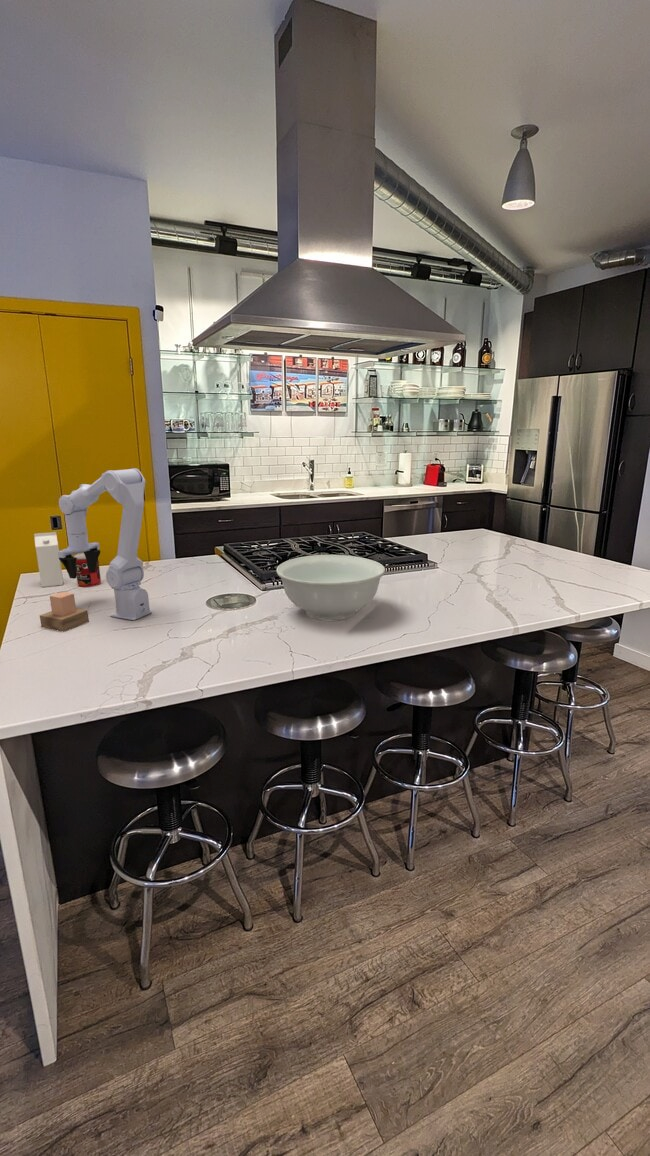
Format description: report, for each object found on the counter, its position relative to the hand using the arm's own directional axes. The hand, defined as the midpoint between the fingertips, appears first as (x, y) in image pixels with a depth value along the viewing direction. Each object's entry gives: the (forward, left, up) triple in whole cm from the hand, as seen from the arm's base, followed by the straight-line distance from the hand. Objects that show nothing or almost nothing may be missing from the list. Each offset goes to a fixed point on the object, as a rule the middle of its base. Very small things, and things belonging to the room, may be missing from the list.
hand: (82, 575), depth 176 cm
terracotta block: (-9, +16, -6) cm, 20 cm away
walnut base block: (-9, +16, -10) cm, 21 cm away
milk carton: (+31, -13, -10) cm, 35 cm away
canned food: (+18, -18, -10) cm, 27 cm away
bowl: (-76, -24, -10) cm, 80 cm away
